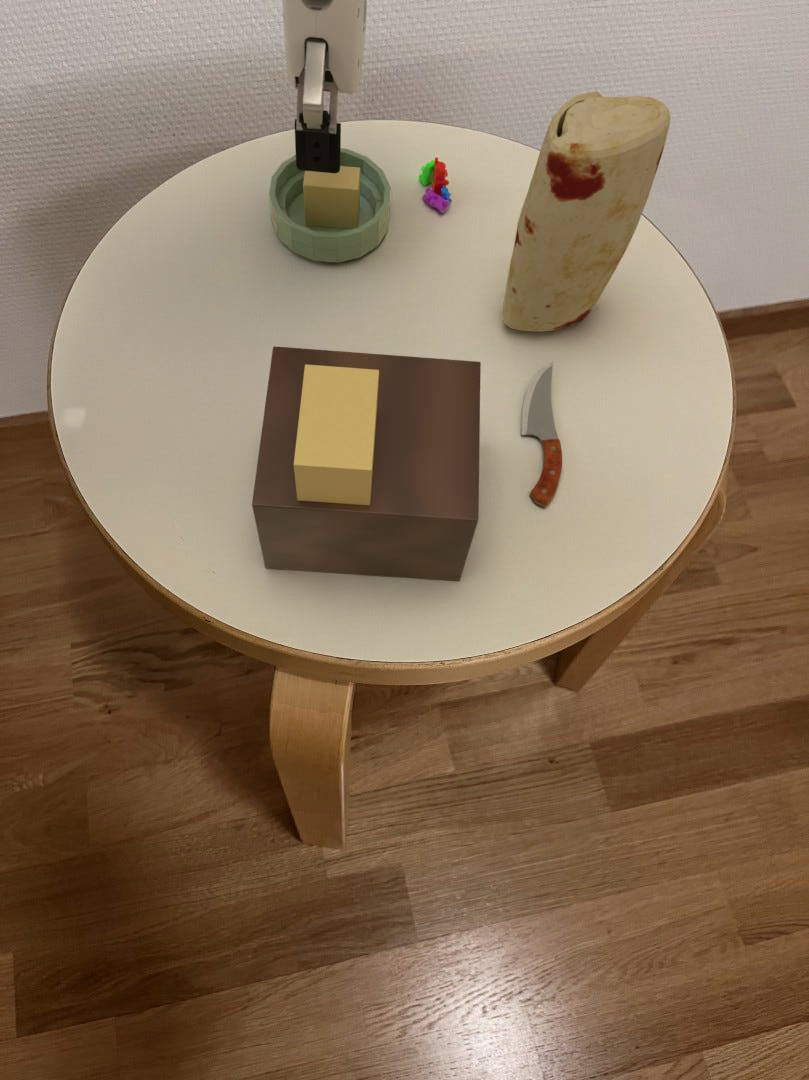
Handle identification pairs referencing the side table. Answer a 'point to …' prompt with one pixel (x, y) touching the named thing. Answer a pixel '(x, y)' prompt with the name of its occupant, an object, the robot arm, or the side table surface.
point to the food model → (582, 207)
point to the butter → (336, 435)
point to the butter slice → (332, 198)
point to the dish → (330, 240)
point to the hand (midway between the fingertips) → (324, 123)
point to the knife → (543, 434)
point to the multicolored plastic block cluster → (436, 185)
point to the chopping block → (377, 472)
